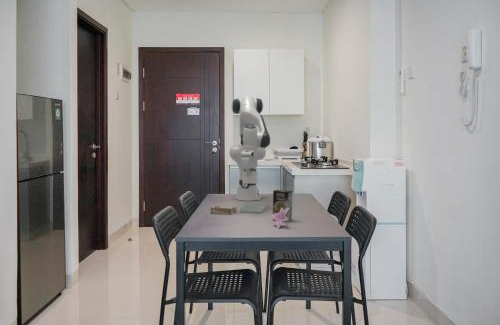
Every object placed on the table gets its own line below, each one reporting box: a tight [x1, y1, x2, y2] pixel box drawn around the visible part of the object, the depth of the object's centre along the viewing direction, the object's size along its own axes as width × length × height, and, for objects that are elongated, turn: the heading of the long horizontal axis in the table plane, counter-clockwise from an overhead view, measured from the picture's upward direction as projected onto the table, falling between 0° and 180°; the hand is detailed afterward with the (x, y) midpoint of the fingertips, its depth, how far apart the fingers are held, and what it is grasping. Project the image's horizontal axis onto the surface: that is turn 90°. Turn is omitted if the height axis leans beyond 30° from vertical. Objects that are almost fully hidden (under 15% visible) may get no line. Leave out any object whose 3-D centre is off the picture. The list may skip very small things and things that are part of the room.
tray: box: [240, 204, 266, 214], centre depth 253 cm, size 10×12×3 cm
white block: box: [242, 168, 259, 185], centre depth 252 cm, size 5×8×9 cm, turn 72°
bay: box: [210, 204, 237, 216], centre depth 247 cm, size 10×12×4 cm
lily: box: [271, 208, 289, 229], centre depth 211 cm, size 12×12×10 cm
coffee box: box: [272, 189, 293, 223], centre depth 226 cm, size 9×6×16 cm
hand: (250, 175), depth 252 cm, fingers closed on white block, 5 cm apart
